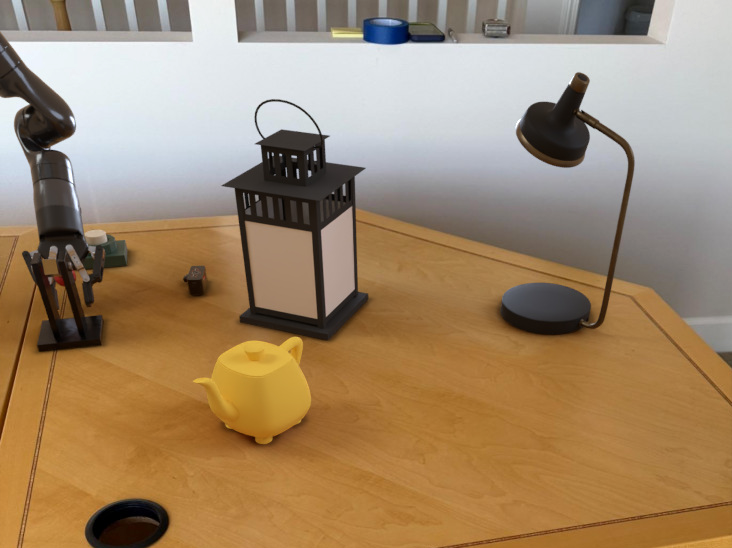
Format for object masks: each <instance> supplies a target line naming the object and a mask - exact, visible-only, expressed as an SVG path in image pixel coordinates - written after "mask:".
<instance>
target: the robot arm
mask: <svg viewBox="0 0 732 548" xmlns="http://www.w3.org/2000/svg"><path fill="white" fill-rule="evenodd" d="M0 98H3V99H11V98H18V99H19V98H20V99H22V100H23V101H24V102H26V103H28V104H27V105H25V106H23V107H21V108H20V109H19V110H17V112H16V113H15V116H14V117H13V118H14V120H13V130H14V133H15V136H16V138H17V140H18V143H19V145H20V147H21V149H22V151H23V155H24V156H25V158H26V159H25V160H26V161H27V163H28V165H29V168H30V176H31V183H32V190H33V194H32V196H33V197H32V198H33V208H34V215H35V221H36V229H37V234H38V241H39V243H38V246H37V249H35V250H32V251H28V250H23V251H22V252H21V255H22V258H23V261H24V262H25V264H26V267H27V270H28V272H29V274H30V276H31V279H32V280H33V282H34V284H35V285H36V286H37V287H38V285H37V282H36V278H35V275H34V274H33V272H32V269H31V262H32V258H33V255H34V253H41V256H42V259H54V258H56V259H57V260H58V259H59V254H60V251H67V255H68V258H69V262H71V263H72V267H73V270H74V272H76V271H77V272H78V274H79V276H80V278H81V279H82V283H81V287H82V294H83V300H84V304H85V306H86V308H92V304H93V305H94V304H95V295H94V287H93V286H94V285H96V284H100V283H102V282H103V280H104V270H105V268H104V263H105V255H106V254H105V251H104V249H103V247H102V246H101V245H97V246H96V247H95V246H88V244H87V243H86V241H85V235H84V234H85V230H84V224H83V223H84V222H83V216H82V208H81V204H80V203H81V202H80V198H79V195H78V193H77V192H78V191H77V187H76V181H75V173H74V168H73V164H72V161H71V159H70V158H69V156H68V155H67V154H66V153H65V152H62V151H61V150H56V149H52V147H53V146H56V145H57V144H60V143H61V142H63V141H66V140H68V139H70V138H72V137H73V136H74V135H75V133H76V130H77V120H76V117H75V115H74V112H73V111H72V108H71V106H70V105H69V104H68V103H67V101H66V100H65V99H64V98H63V97H62V96H61V95H60V94H59V93H57V92H56V91H55V90H54V89H53V88H51V86H49V85H48V83H46V82H45V81H43V79H41V77H39V76H38V75H37V74H36V73H35V72H34V71H33V70H31V69H30V68H29V67H28V65H26V64H25V62H24V60H23V59H22V58H21V56H20V55H19V54H18V52H17V51H16V50H15V49H14V47H13V46H12V44H11V43H10V42H9V41H8V39H7V38H6V37H5V35H4V34H3V33H2V32H1V31H0ZM89 253H91V256H92V258H93V259H94V266H93V269H92V273H90V274H88V272H87V269H85V268H84V266H83V262H84V260H85V259H86V257H87V255H88V254H89ZM48 279H49V283H50V286H51V289H52V292H53V296H54V299H55V302H56V306H57V309H58V311H60V310H61V308H60V301H59V296H58V289H56V287H57V284H58V283H57V282H56V281H55V279H54V277H48Z"/></svg>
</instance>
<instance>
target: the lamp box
mask: <svg viewBox="0 0 732 548" xmlns="http://www.w3.org/2000/svg"><path fill="white" fill-rule="evenodd" d="M106 236H107V242H106V243H103V244H100V245H101V246H102V247H103V249H104V251H105V254H106V255H105V263H104V269H105V268H116V267H126V266H127V265H128V252H129V251H128V246H127V242H126V241H127V240H126V239H120V240H119V239H118V240H116V237H115V236H114V235H112V234H108V233H106ZM85 241H86V239H85ZM88 246H95V247H96V246H97V245H89V244H88ZM83 266H84V268H85V270H93V266H94V259H93V258H92V256H91V253H89V254H88V255H87V257H86V259H85V260H84V262H83Z"/></svg>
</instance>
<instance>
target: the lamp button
mask: <svg viewBox="0 0 732 548" xmlns="http://www.w3.org/2000/svg"><path fill="white" fill-rule="evenodd" d="M106 234H107V233H106V231H105V230H103V229H91V230H87V231H85V232H84V236H85V239H86V243H87V244H89V245H100V244H103V243H106V242H107V236H106Z"/></svg>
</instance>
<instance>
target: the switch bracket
mask: <svg viewBox="0 0 732 548" xmlns="http://www.w3.org/2000/svg"><path fill="white" fill-rule="evenodd" d="M42 259H43V258H42V256H41V253H34V255H33V258H32V262H31V269H32V272H33V274H34V275H35V278H36V282H37V285H38V286H37V285H36V286H37V287H38V291H39V295H40V297H41V300H42V304H43V307H44V309H45V313H46V316H47V319H45V320H42V321H41V324H40V325H41V326H40V329H39V334H38V339H37V343H36V347H37V350H38V352H47V351H48V352H49V351H57V350H67V349H77V348H78V349H79V348H89V347H98V346H102V344H103V334H104V323H105V321H104V317H103V314H98V315H87V316H85V315H86V314H85V312H84V308H83V304H82V300H81V297H80V295H79V289H78V286H77V282H76V281H75V280H74V276H73V272H72V271H73V267H72V263H71V262H69V258H68V255H67V251H60V254H59V259H58V264H59V268H60V271H61V275H62V278H63V282H64V285H65V287H64V289H65V292H66V296H67V299H68V302H69V305H70V308H71V312H72V316H73V317H65V318H61V315H60V312H59V310H58V309H57V306H56V302H55V299H54V296H53V292H52V289H51V286H50V283H49V279H48V277H47V276H46V275H44V270H43V265H42Z"/></svg>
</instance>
